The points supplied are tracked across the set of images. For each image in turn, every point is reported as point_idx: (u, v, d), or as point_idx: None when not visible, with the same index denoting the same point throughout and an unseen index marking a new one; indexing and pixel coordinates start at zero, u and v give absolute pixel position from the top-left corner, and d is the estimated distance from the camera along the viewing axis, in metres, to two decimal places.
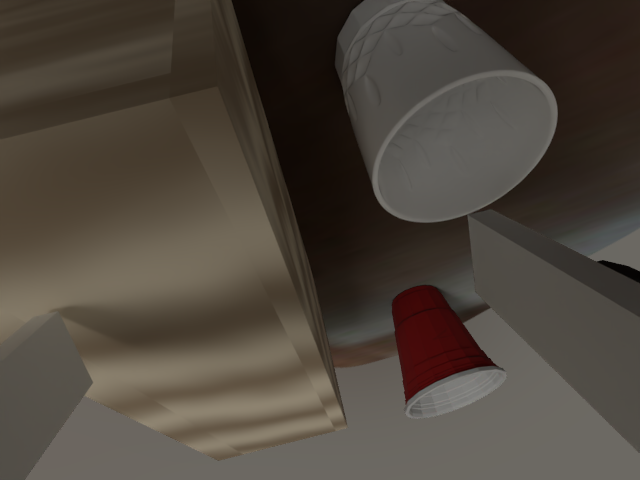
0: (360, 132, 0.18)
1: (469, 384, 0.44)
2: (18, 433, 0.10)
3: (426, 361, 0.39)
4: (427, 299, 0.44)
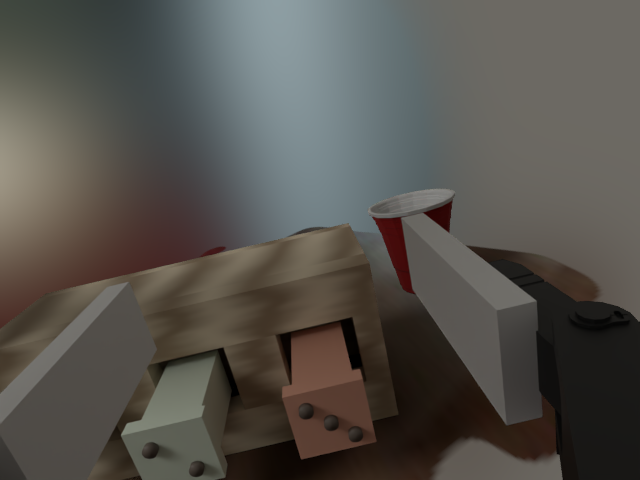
0: None
1: (432, 202, 0.53)
2: (109, 384, 0.11)
3: (387, 234, 0.49)
4: None
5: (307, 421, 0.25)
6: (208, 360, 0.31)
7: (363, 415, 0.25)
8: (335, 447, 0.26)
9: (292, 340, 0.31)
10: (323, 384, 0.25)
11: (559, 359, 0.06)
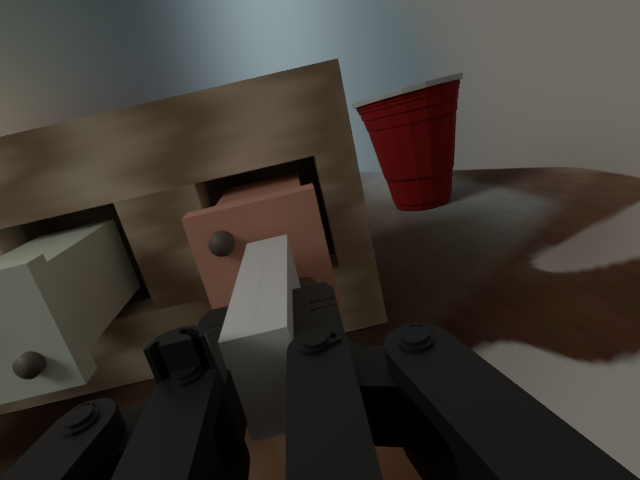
0: None
1: None
2: None
3: (376, 128, 0.38)
4: None
5: (227, 265, 0.15)
6: (93, 227, 0.20)
7: (318, 257, 0.16)
8: None
9: (226, 191, 0.21)
10: (250, 201, 0.15)
11: (286, 390, 0.07)
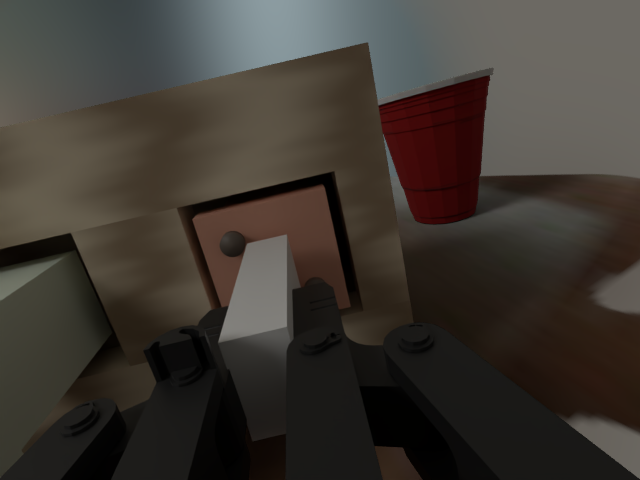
0: None
1: None
2: None
3: (394, 131, 0.34)
4: None
5: (237, 265, 0.16)
6: (46, 264, 0.15)
7: (328, 258, 0.16)
8: None
9: None
10: (261, 202, 0.15)
11: (286, 390, 0.07)
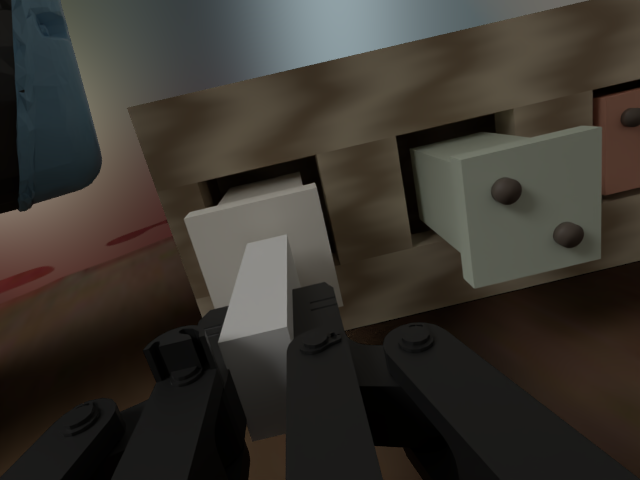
0: None
1: None
2: None
3: None
4: None
5: (626, 136, 0.21)
6: (483, 135, 0.20)
7: None
8: None
9: None
10: None
11: (287, 390, 0.07)
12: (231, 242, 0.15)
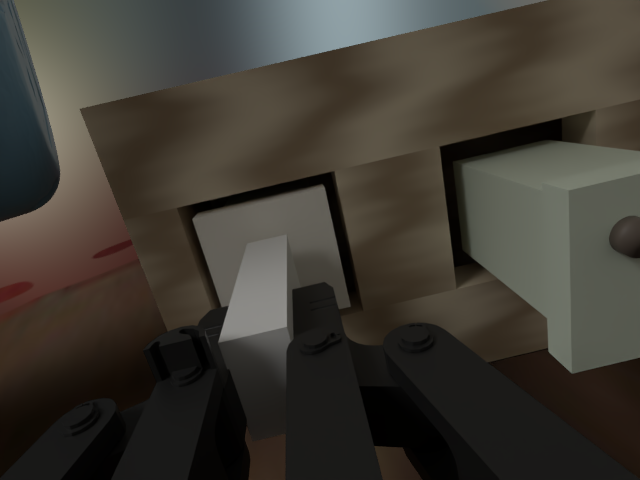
0: None
1: None
2: None
3: None
4: None
5: None
6: (553, 145, 0.16)
7: None
8: None
9: None
10: None
11: (286, 390, 0.07)
12: (239, 243, 0.15)
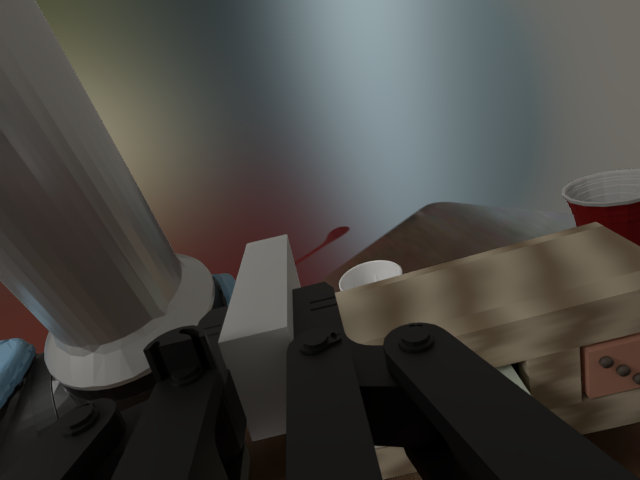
0: None
1: (627, 182, 0.51)
2: None
3: (592, 221, 0.48)
4: None
5: (603, 369, 0.32)
6: (508, 371, 0.32)
7: None
8: (619, 389, 0.33)
9: None
10: (620, 341, 0.31)
11: (286, 390, 0.07)
12: None
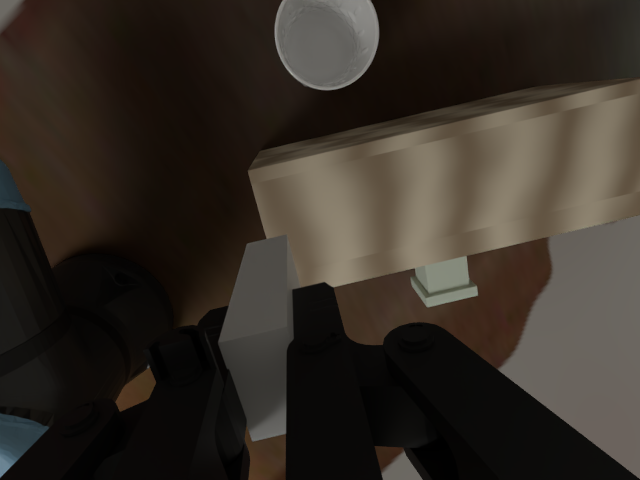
0: None
1: None
2: None
3: None
4: None
5: None
6: None
7: None
8: None
9: None
10: None
11: (287, 390, 0.07)
12: None
